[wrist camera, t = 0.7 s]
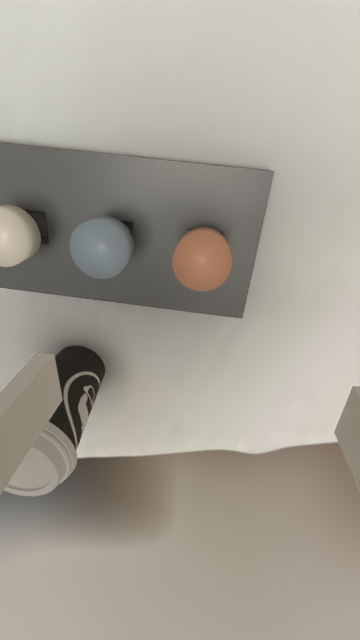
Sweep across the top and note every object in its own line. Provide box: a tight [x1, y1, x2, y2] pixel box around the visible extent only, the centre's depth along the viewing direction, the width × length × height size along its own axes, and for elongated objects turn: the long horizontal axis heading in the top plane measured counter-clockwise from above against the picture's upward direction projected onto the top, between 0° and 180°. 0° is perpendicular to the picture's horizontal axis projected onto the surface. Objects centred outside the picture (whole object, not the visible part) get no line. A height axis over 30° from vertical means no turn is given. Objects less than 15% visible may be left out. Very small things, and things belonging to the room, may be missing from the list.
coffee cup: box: [4, 346, 105, 496], centre depth 33 cm, size 10×10×15 cm
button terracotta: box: [172, 227, 232, 291], centre depth 26 cm, size 5×5×4 cm
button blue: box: [70, 216, 134, 279], centre depth 26 cm, size 5×5×4 cm
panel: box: [0, 142, 274, 318], centre depth 30 cm, size 27×14×2 cm, turn 85°
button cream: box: [0, 205, 41, 267], centre depth 27 cm, size 5×5×4 cm
